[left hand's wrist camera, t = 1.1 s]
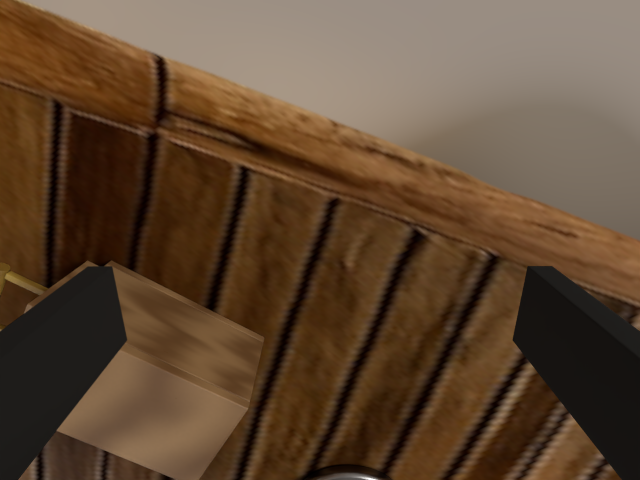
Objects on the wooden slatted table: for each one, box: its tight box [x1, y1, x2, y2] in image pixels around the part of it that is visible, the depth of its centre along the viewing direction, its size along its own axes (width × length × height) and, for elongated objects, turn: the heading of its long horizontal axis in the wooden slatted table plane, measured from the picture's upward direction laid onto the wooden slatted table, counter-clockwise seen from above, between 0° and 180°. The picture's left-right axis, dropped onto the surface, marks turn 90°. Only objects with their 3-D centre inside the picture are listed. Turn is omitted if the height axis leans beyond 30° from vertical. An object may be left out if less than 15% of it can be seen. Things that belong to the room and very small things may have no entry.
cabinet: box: [57, 261, 264, 480], centre depth 38 cm, size 18×11×10 cm, turn 59°
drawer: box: [0, 261, 98, 331], centre depth 37 cm, size 22×10×8 cm, turn 59°
